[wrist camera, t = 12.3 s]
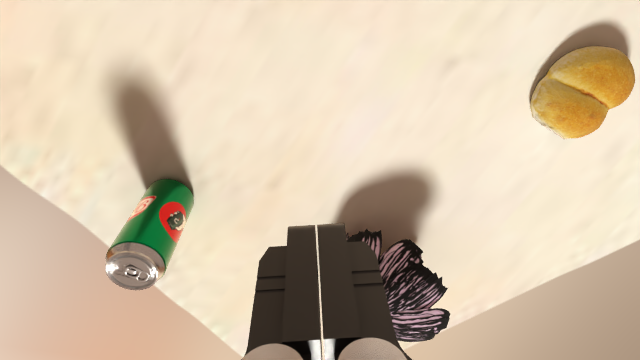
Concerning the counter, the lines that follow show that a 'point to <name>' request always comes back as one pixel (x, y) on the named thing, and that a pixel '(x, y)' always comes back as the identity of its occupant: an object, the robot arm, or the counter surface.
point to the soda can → (149, 236)
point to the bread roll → (582, 90)
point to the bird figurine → (408, 288)
